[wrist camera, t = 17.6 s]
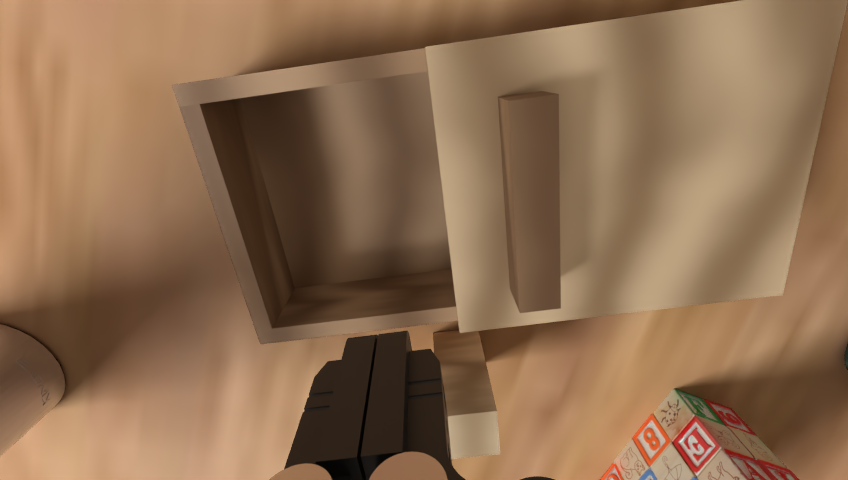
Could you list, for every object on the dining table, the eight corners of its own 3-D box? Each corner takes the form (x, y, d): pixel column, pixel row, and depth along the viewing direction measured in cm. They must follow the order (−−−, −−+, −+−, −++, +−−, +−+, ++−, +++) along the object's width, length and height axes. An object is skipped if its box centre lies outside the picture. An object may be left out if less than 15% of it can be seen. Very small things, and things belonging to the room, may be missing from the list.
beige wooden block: (438, 368, 34) (444, 459, 26) (433, 332, 33) (437, 417, 25) (481, 364, 34) (500, 454, 26) (477, 327, 32) (496, 411, 25)
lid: (457, 321, 25) (464, 361, 22) (424, 48, 19) (426, 43, 16) (766, 284, 24) (823, 320, 21) (825, -11, 19) (917, -29, 15)
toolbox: (288, 294, 31) (260, 344, 26) (226, 81, 25) (171, 85, 20) (608, 255, 30) (651, 297, 25) (617, 24, 24) (675, 11, 19)
